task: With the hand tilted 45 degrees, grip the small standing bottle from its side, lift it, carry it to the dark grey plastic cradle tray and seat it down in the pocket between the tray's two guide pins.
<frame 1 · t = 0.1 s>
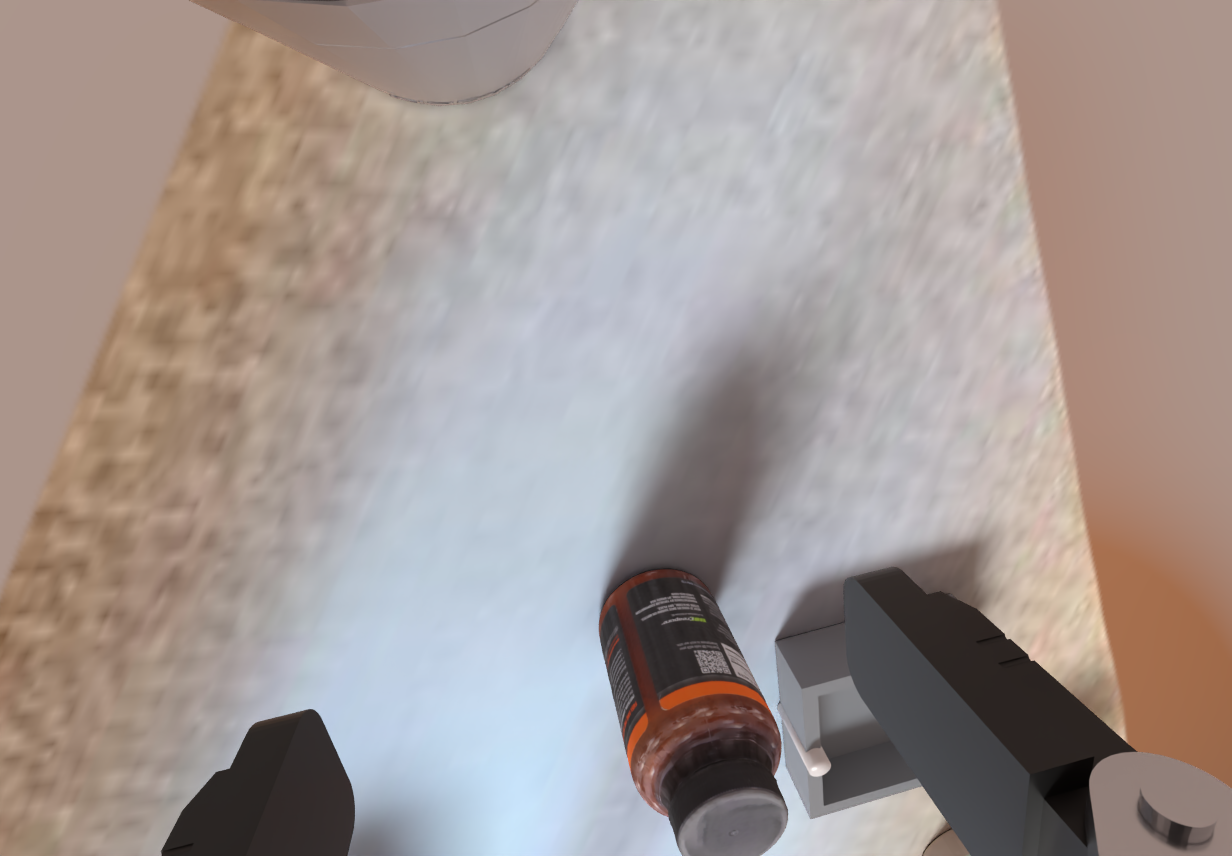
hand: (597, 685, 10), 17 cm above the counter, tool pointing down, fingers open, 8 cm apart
coffee cup: (956, 846, 45), on the counter
tray: (864, 684, 36), on the counter
supplement bottle: (654, 609, 32), on the counter
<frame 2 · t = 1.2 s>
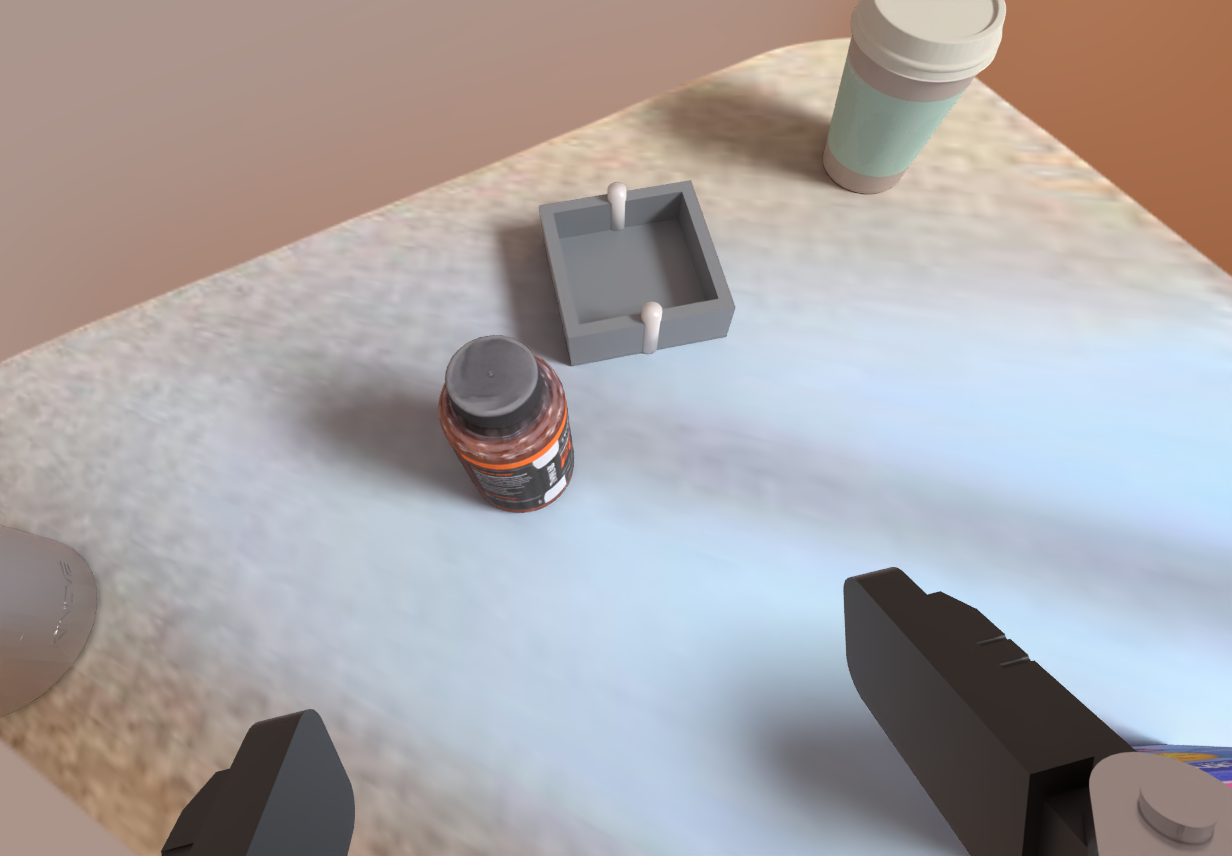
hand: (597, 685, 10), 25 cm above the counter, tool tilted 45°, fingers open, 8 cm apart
ink cartridge box: (1091, 804, 31), on the counter
coffee cup: (861, 166, 47), on the counter
tray: (631, 286, 42), on the counter
supplement bottle: (525, 467, 38), on the counter
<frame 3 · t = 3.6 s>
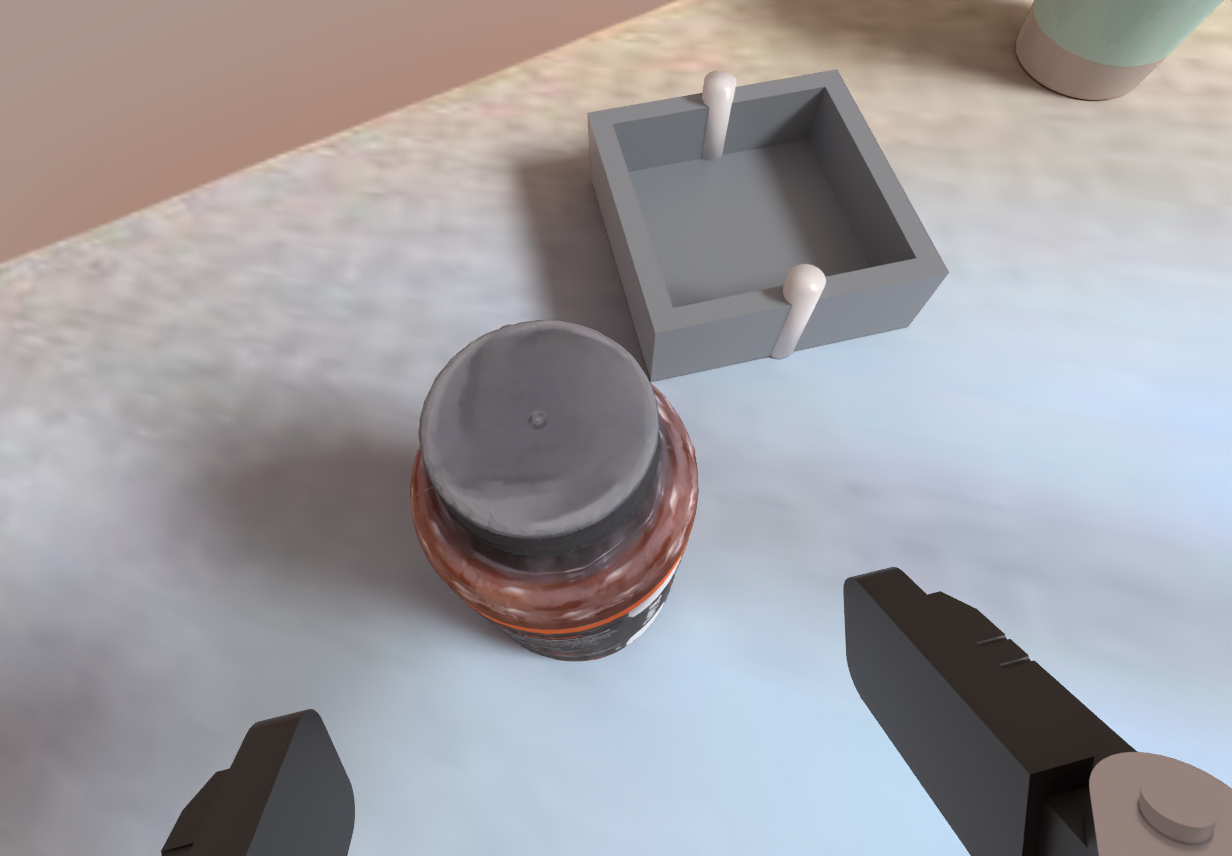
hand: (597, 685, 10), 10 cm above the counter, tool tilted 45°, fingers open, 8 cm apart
coffee cup: (1074, 61, 30), on the counter
tray: (740, 248, 26), on the counter
supplement bottle: (579, 567, 21), on the counter
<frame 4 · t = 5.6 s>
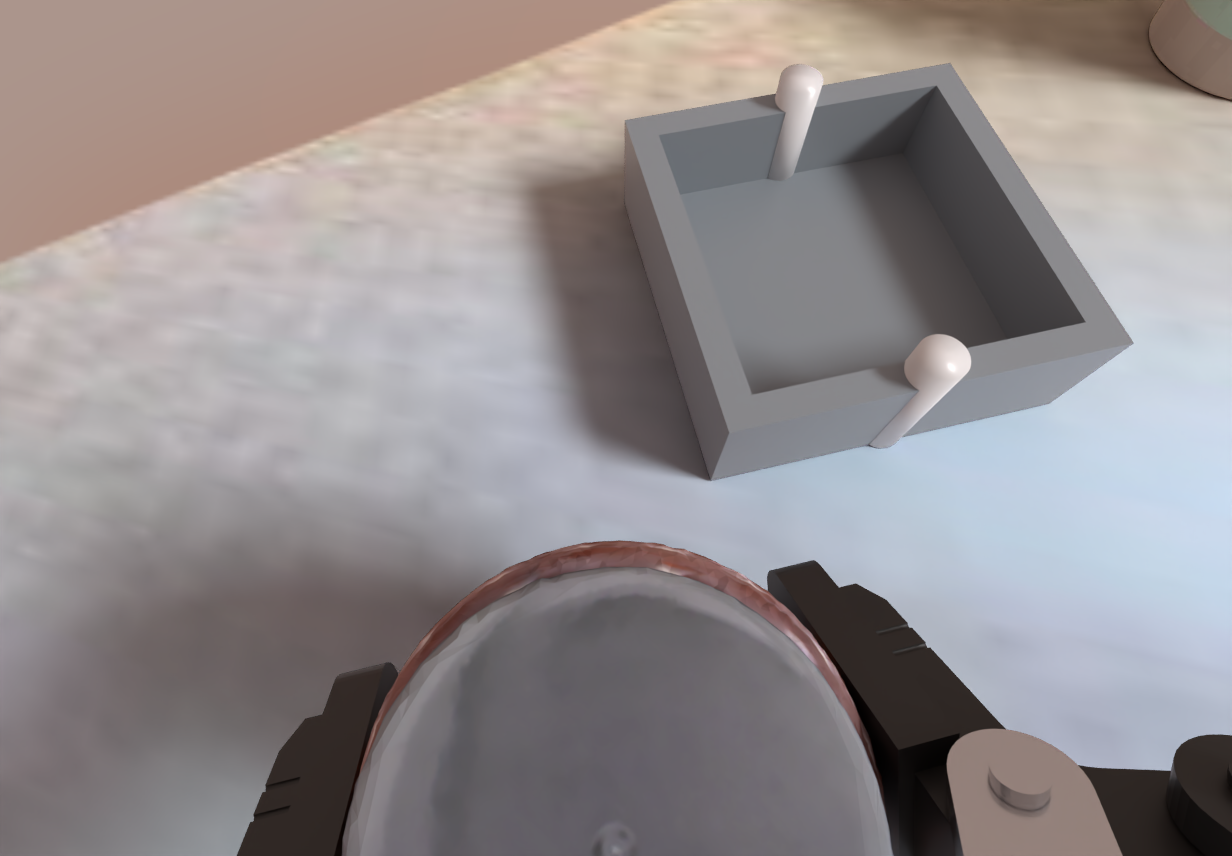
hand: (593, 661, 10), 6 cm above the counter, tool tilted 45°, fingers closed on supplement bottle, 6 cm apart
coffee cup: (1222, 55, 24), on the counter
tray: (820, 295, 20), on the counter
supplement bottle: (620, 755, 15), on the counter, touching gripper
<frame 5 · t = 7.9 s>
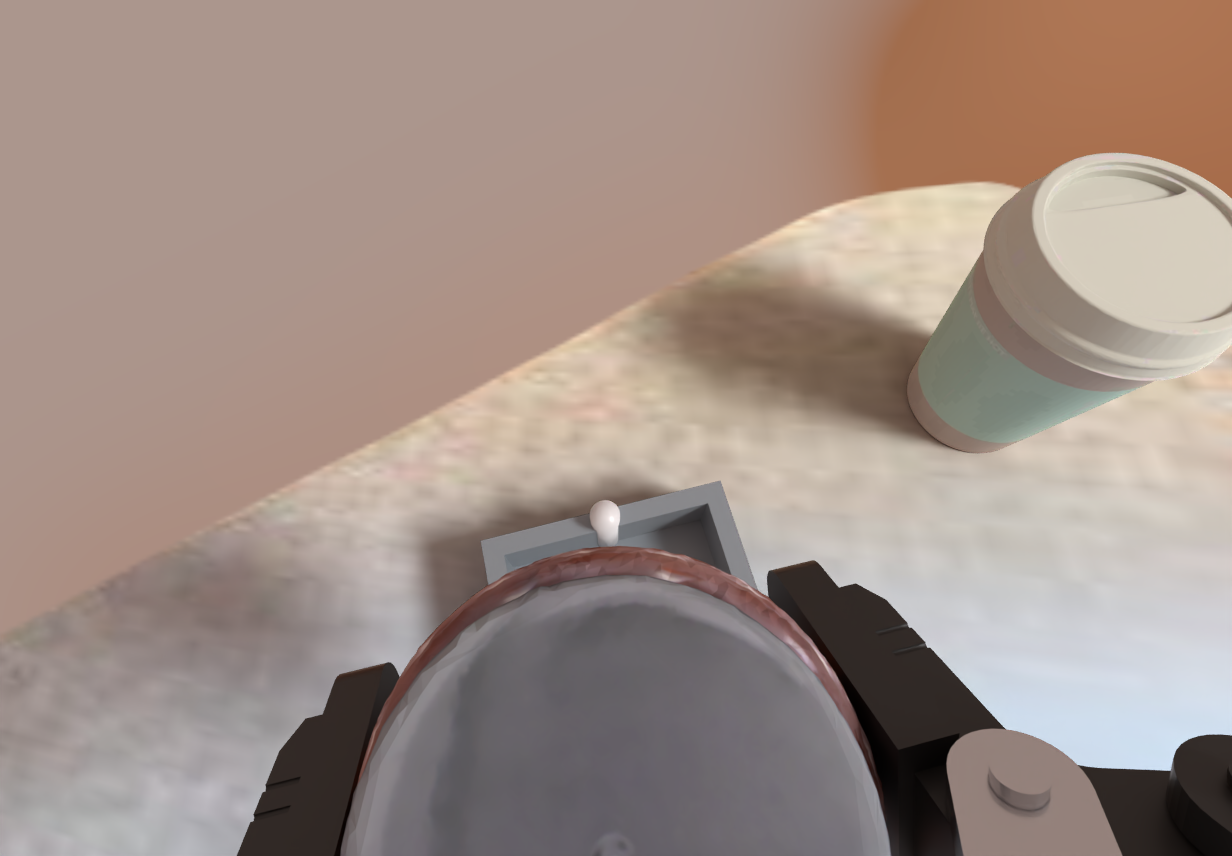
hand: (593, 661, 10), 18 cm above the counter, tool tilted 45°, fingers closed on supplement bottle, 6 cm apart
coffee cup: (963, 400, 32), on the counter
tray: (633, 643, 27), on the counter
supplement bottle: (620, 758, 15), point 12 cm above the counter, touching gripper
when the fingers open (8 cm above the counter, at t = 10.5 s): supplement bottle drops 1 cm, resting on tray.
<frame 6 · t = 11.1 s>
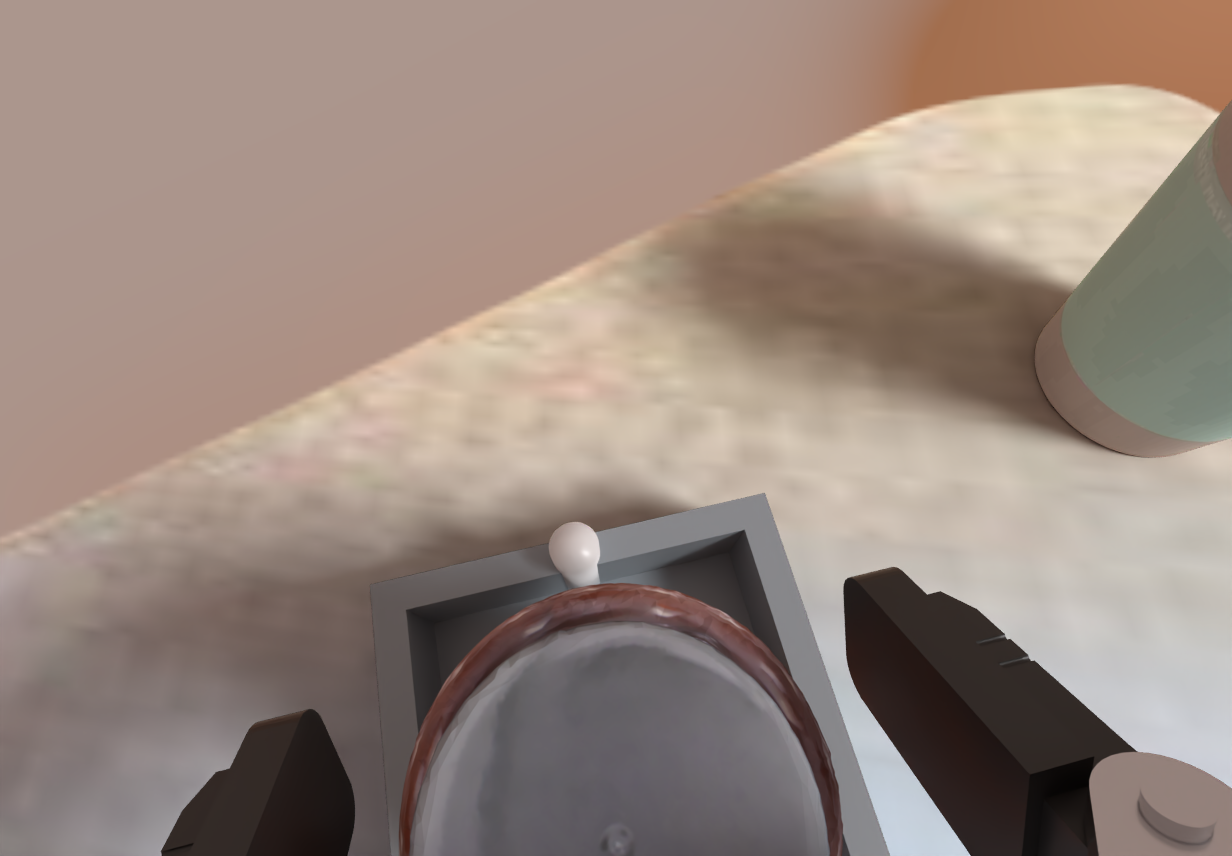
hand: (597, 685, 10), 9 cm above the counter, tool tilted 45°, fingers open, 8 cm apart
coffee cup: (1117, 380, 22), on the counter
tray: (619, 749, 17), on the counter
supplement bottle: (621, 761, 16), point 1 cm above the counter, touching tray
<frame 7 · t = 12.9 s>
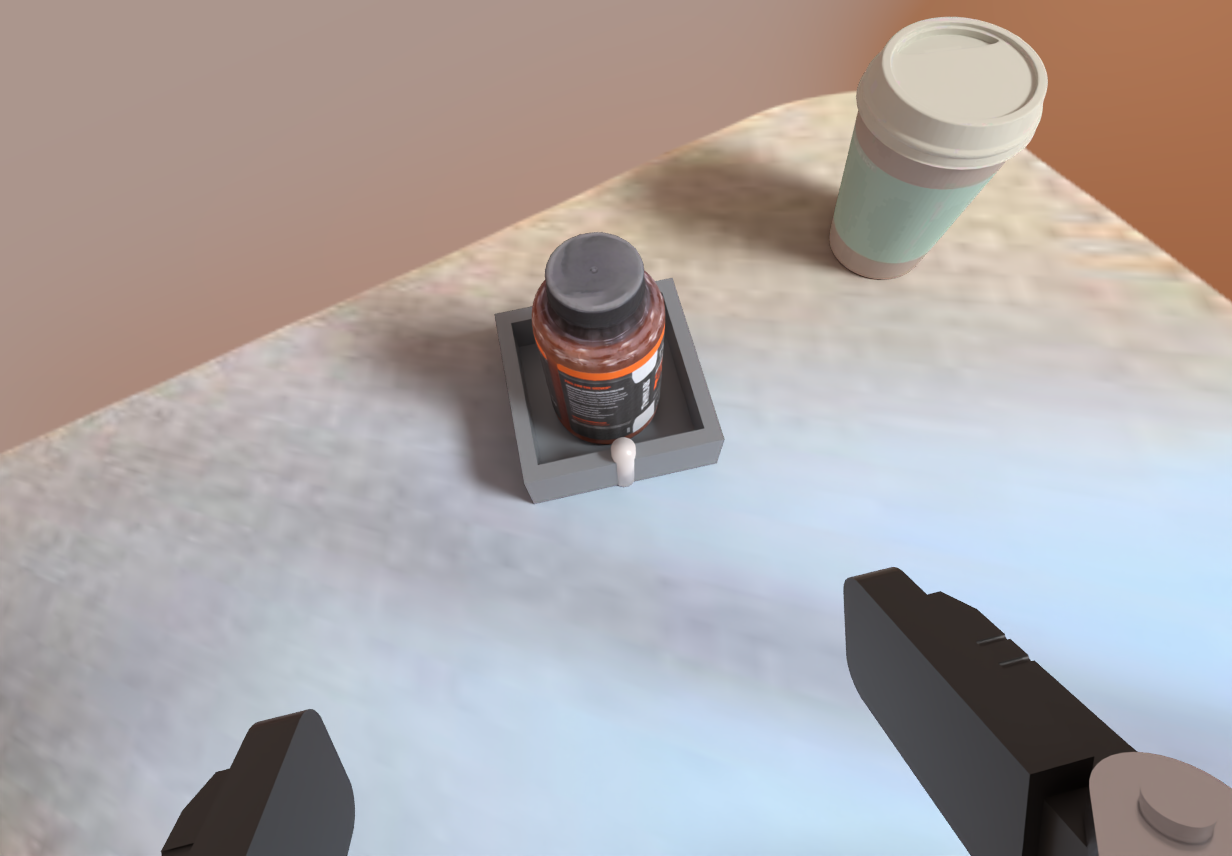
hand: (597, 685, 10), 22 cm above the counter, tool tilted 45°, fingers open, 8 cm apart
coffee cup: (873, 244, 41), on the counter
tray: (606, 401, 36), on the counter
supplement bottle: (606, 400, 36), point 1 cm above the counter, touching tray
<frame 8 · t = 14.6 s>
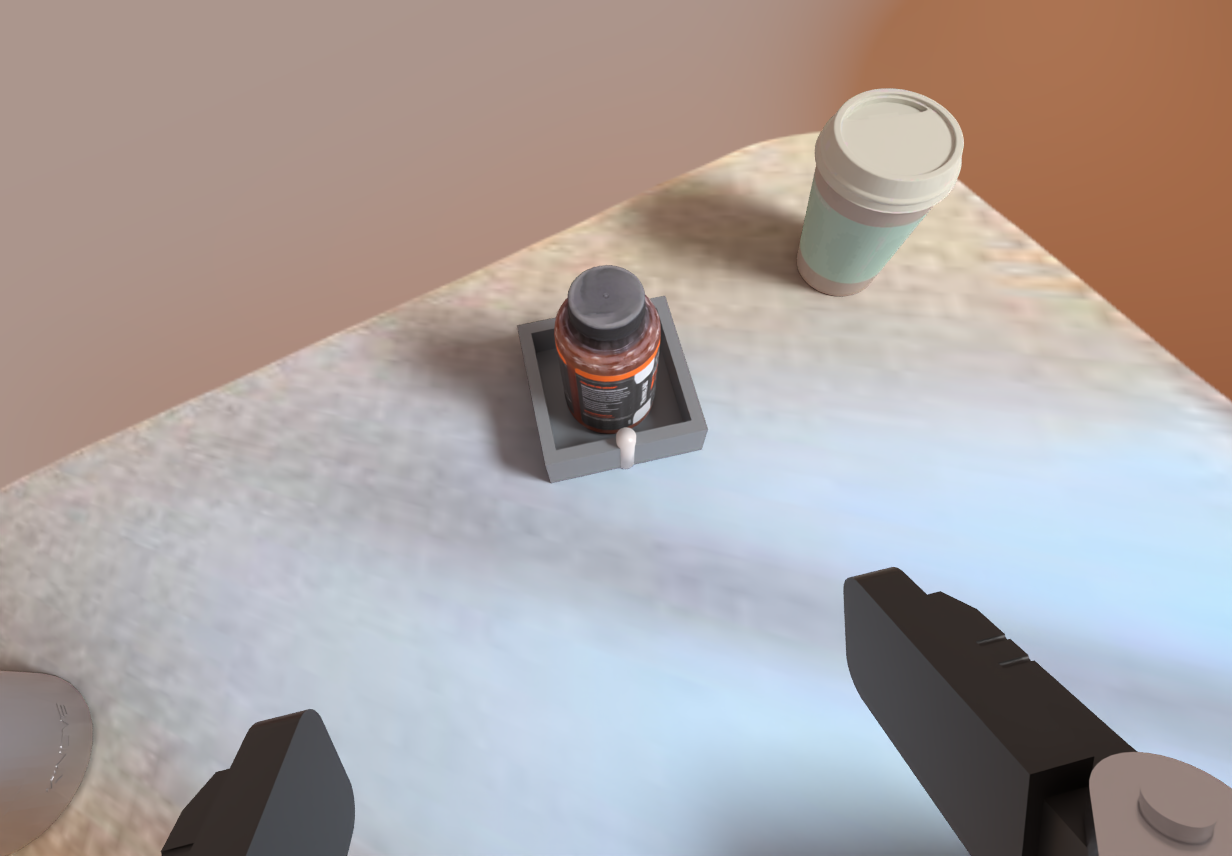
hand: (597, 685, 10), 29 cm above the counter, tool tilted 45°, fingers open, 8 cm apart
coffee cup: (834, 266, 48), on the counter
tray: (609, 398, 44), on the counter
supplement bottle: (610, 397, 43), point 1 cm above the counter, touching tray
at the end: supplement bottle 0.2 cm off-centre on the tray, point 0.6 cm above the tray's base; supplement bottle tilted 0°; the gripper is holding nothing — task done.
